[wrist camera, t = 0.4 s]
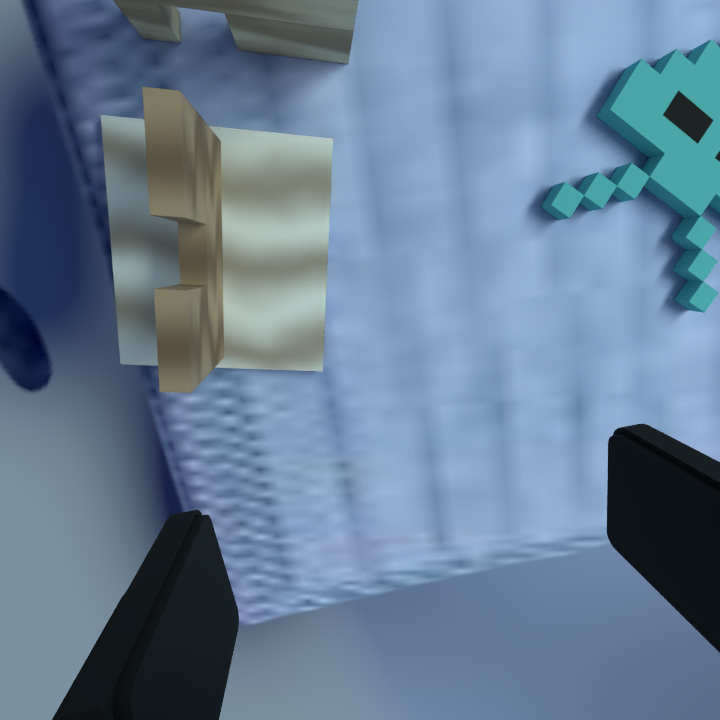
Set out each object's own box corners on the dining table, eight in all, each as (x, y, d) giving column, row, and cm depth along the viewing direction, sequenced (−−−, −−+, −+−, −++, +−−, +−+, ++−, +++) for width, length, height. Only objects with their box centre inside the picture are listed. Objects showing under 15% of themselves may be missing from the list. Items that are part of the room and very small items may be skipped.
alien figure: (684, 309, 42) (813, 128, 39) (704, 312, 40) (842, 121, 37) (537, 207, 38) (668, -5, 35) (551, 204, 36) (691, -22, 32)
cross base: (108, 119, 32) (2, 49, 21) (332, 142, 34) (339, 89, 23) (126, 360, 37) (47, 403, 26) (322, 368, 39) (324, 409, 28)
